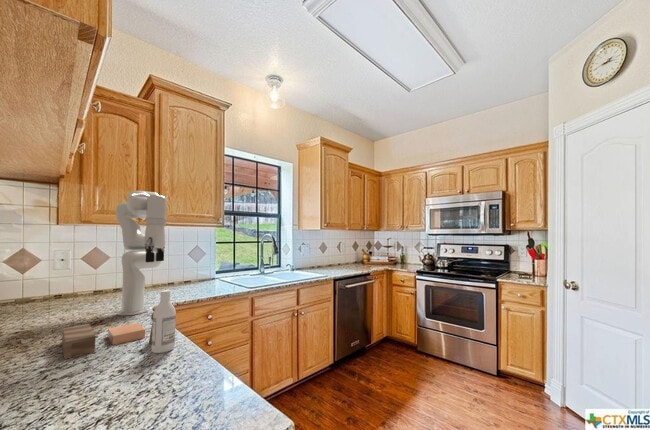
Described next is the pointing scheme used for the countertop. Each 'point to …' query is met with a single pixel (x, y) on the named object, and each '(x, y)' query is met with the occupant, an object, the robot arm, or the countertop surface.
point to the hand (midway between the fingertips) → (155, 261)
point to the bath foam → (164, 325)
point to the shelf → (78, 340)
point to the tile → (126, 333)
